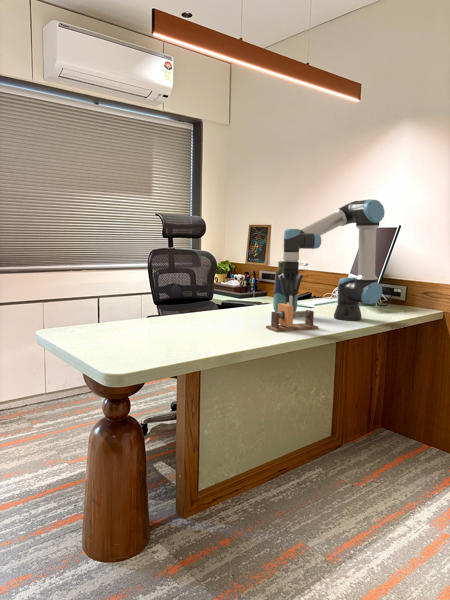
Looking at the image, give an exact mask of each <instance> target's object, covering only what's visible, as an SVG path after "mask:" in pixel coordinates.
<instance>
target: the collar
mask: <svg viewBox="0 0 450 600" xmlns="http://www.w3.org/2000/svg"><path fill="white" fill-rule="evenodd" d="M278 312H285V317H284V319H281V318H279V325H283V326H286V327H293V324H294V318H293V306H291V305H287V304H284V303H281V304H278Z"/></svg>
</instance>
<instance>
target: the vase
mask: <svg viewBox="0 0 450 600" xmlns="http://www.w3.org/2000/svg"><path fill="white" fill-rule="evenodd" d="M284 261H285V260H279V261H278V263H277V269H276V270H275V276H274V287H273V299H272V300H273V304H272V305H273V312H278V304H281V303H284V304H287V302H286V296H285V295H284V294H282V290H281V284H280V280H279V278H278V275H281V274H282V272H283V262H284ZM296 279H297V277H296ZM284 281H285V277H284ZM295 283H296V281H295ZM285 287H286V282H285ZM292 306H293V312H294V311H297V309H298V294H296V295H295V296H294V302H292Z"/></svg>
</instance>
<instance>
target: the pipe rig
mask: <svg viewBox="0 0 450 600" xmlns="http://www.w3.org/2000/svg"><path fill="white" fill-rule="evenodd" d="M270 313H271V318H270V321H271V322H270V323H271V324H270V325H265V329H267V330H270V331H272V332H274V333H278V332H280V333H281V332H291V331H292V332H293V331H306V330H307V331H308V330H309V331H310V330H319V329H320V328H319V326H318V325H315V324H314V316H315V314H314V313H315V311H314V310H311V309H310V310H309V309H306V310H298V311H297V310H296V311H294V312H293V319H294V318H304V319H305V322H303V323H293V327H286V326H283V325H280V324H279V318H281V319H284V317H285V312H275V311H271V312H270Z"/></svg>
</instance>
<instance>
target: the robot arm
mask: <svg viewBox="0 0 450 600" xmlns="http://www.w3.org/2000/svg"><path fill="white" fill-rule="evenodd" d="M384 217H385V207H384V205H383V204H382V202H381V201H380V200H378V199H365V200H364V199H361V200H354V201H351V202H349V203H347V204H344V205H343V206H341V207H339V208H337V209H335V210H334V211H333V213H331V214H330V215H327V216H324V218H321V219H319V220H317V221H315V222H313V223H311V224H309V225H307V226H305V227H303V228H301V229H299V228H285V230H284V234H283V258H282V259H283V260H282V261H284V262H283V272H282V274H281V275H278V278H279V280H280V284H281V290H282V294H284V295H285V296H286V302H287V305H291V306H292V302H294V296H295V295H296V294H297V295H298V294H299V289H300V285H301V282H302V279H303V278H304V275H303V274H300V271H299V268H300V267H299V265H300V263H299V260H300V249H303V250H304V249H306V250H307V249H308V250H316V249H318V248H320V247H321V245H322V235H324V234H327V233H328V232H331V231H332V230H334V229H336V228H338V227H344V226H346V225H349V224H350V225H351V224H355V228H357V229H358V257H357V258H358V262H357V266H358V269H357V270H358V271H357V272H358V273H357V276H356V277H342V278H339V280H338V284H337V287H338V288H337V289H338V290H337V304H336V308H335V310H334V313H333V319H335V320H340V321H341V320H342V321H353V322H354V321H360V320H362V317H363V316H362V312H361V308H360V303H361V304H365V305H368V304H369V305H373V304H376V303H377V302H378V301H379V300H380V299H381V298H382V296H383V286H382V285H381V284H380V283H379V277H377V275H376V254H377V253H376V251H377V250H376V249H377V247H376V246H377V229H378V228H379V227H380V222H381V221H382V220H383V219H384ZM284 277H285V281H284ZM296 277H297V279H296ZM295 281H296V283H295ZM285 282H286V287H285Z"/></svg>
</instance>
